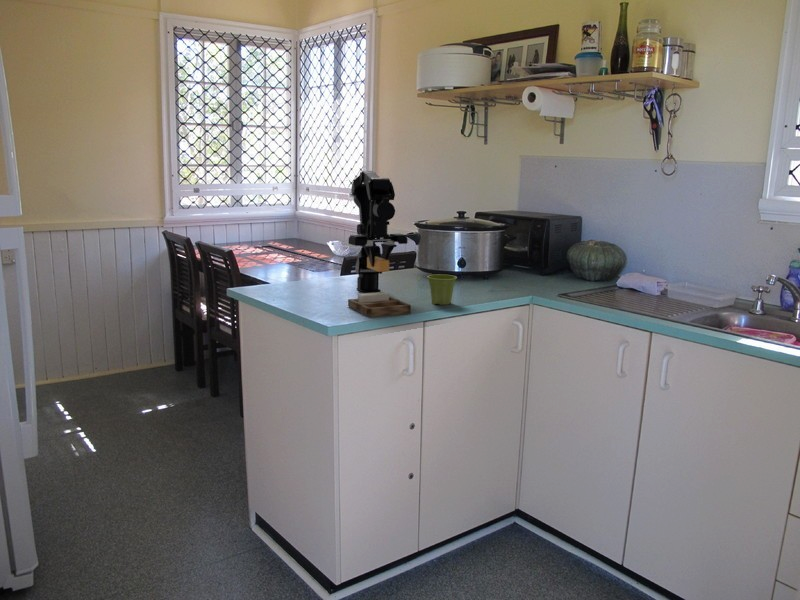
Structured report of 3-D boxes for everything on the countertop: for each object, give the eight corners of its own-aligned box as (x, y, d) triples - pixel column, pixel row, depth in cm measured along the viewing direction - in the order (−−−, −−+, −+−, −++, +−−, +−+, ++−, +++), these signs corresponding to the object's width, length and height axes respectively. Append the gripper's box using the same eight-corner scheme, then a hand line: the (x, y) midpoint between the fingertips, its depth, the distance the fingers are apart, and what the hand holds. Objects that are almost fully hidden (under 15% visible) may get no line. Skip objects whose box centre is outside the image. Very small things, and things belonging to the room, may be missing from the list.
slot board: (388, 303, 212) (388, 295, 212) (410, 312, 200) (410, 305, 199) (348, 306, 206) (348, 299, 205) (368, 317, 193) (368, 308, 193)
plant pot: (421, 301, 217) (422, 274, 215) (447, 299, 220) (448, 273, 219) (434, 307, 208) (435, 279, 207) (460, 305, 212) (462, 278, 210)
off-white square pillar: (362, 307, 202) (362, 296, 201) (357, 305, 205) (357, 293, 204) (388, 305, 206) (389, 294, 206) (383, 302, 209) (384, 291, 209)
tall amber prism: (366, 267, 219) (367, 257, 218) (376, 267, 220) (376, 256, 220) (379, 271, 211) (379, 260, 210) (389, 271, 213) (389, 260, 212)
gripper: (392, 215, 224) (391, 261, 227) (341, 216, 215) (341, 264, 218) (409, 218, 214) (407, 266, 217) (356, 219, 205) (355, 269, 208)
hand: (377, 266), depth 216 cm, fingers closed on tall amber prism, 3 cm apart
